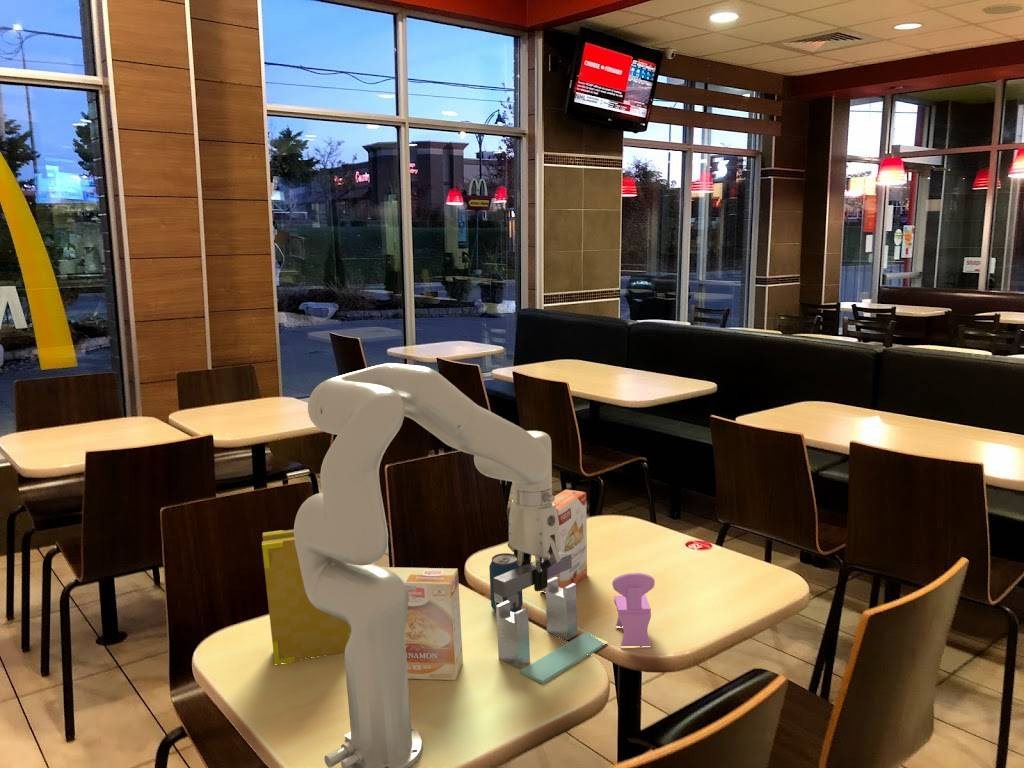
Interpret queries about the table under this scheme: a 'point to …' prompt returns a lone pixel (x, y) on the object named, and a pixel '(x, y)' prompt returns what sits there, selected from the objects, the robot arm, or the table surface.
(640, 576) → the toy chair
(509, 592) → the rail
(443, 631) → the coffeecake box
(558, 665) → the mat
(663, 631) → the table surface
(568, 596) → the post far
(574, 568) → the cracker box
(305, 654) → the book
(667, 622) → the table surface
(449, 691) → the table surface
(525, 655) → the post near arm
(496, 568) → the soda can
